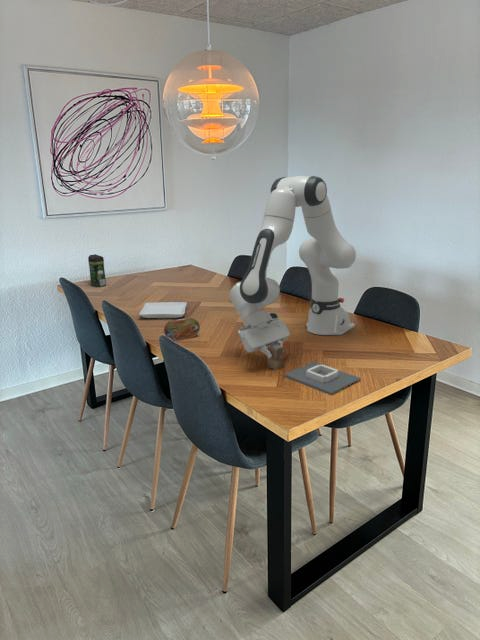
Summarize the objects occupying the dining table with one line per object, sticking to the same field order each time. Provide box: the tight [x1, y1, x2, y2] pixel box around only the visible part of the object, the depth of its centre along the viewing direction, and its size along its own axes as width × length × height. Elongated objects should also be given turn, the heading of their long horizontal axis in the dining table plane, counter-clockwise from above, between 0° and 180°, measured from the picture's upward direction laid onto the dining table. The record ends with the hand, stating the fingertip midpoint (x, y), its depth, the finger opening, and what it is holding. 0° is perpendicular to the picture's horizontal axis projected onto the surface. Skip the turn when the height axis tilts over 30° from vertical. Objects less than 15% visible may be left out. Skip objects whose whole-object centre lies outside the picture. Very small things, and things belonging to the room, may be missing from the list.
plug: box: [267, 344, 285, 371], centre depth 177 cm, size 4×4×8 cm
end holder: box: [283, 361, 362, 395], centre depth 168 cm, size 16×20×3 cm
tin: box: [163, 317, 201, 342], centre depth 207 cm, size 15×3×8 cm, turn 115°
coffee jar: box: [87, 254, 107, 288], centre depth 297 cm, size 10×8×19 cm
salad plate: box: [139, 301, 188, 319], centre depth 242 cm, size 21×21×3 cm
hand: (276, 355), depth 177 cm, fingers closed on plug, 4 cm apart
